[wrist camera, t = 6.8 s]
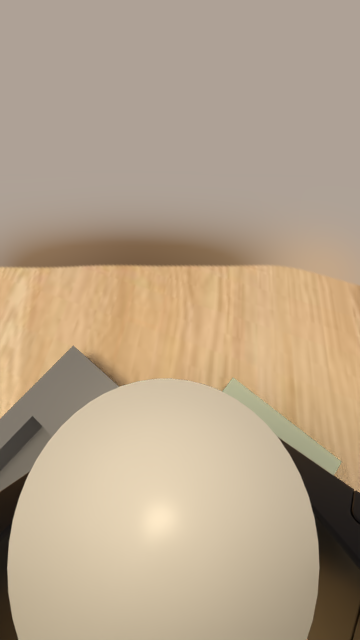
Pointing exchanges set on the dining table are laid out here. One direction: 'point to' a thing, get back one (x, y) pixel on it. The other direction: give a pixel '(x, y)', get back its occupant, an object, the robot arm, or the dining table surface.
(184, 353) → the dining table surface
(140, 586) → the cream rounded peg
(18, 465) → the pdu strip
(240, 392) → the coaster
